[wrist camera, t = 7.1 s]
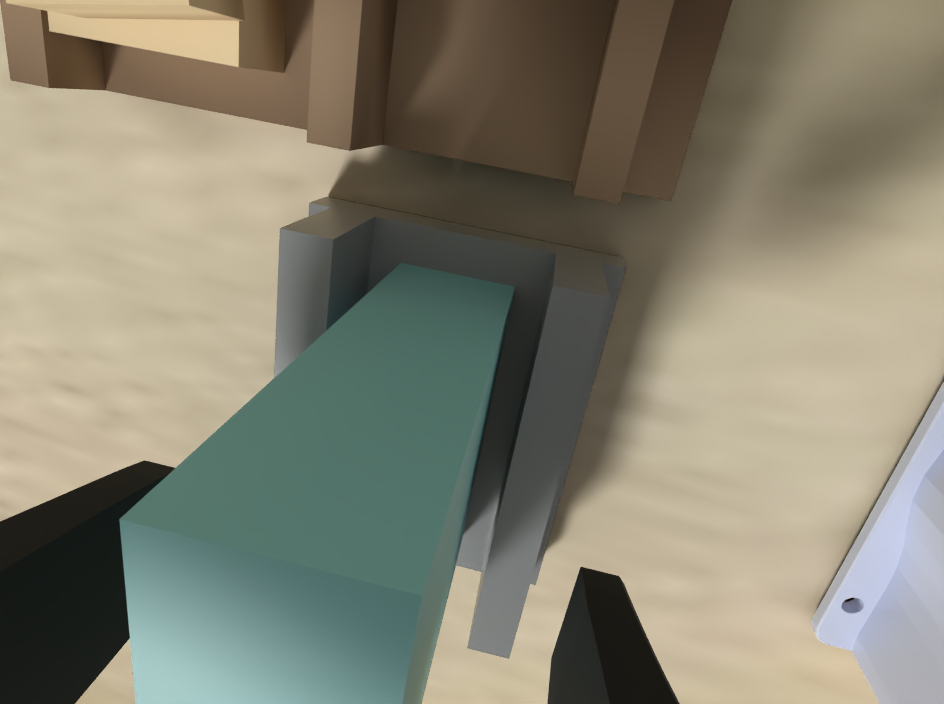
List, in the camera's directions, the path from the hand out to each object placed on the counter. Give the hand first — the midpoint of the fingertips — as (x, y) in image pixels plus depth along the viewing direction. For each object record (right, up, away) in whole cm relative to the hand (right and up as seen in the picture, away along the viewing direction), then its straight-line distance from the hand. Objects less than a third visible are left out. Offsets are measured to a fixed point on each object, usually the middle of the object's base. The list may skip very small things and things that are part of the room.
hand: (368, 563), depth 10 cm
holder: (+1, +2, +6) cm, 6 cm away
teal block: (+1, +2, +5) cm, 5 cm away
